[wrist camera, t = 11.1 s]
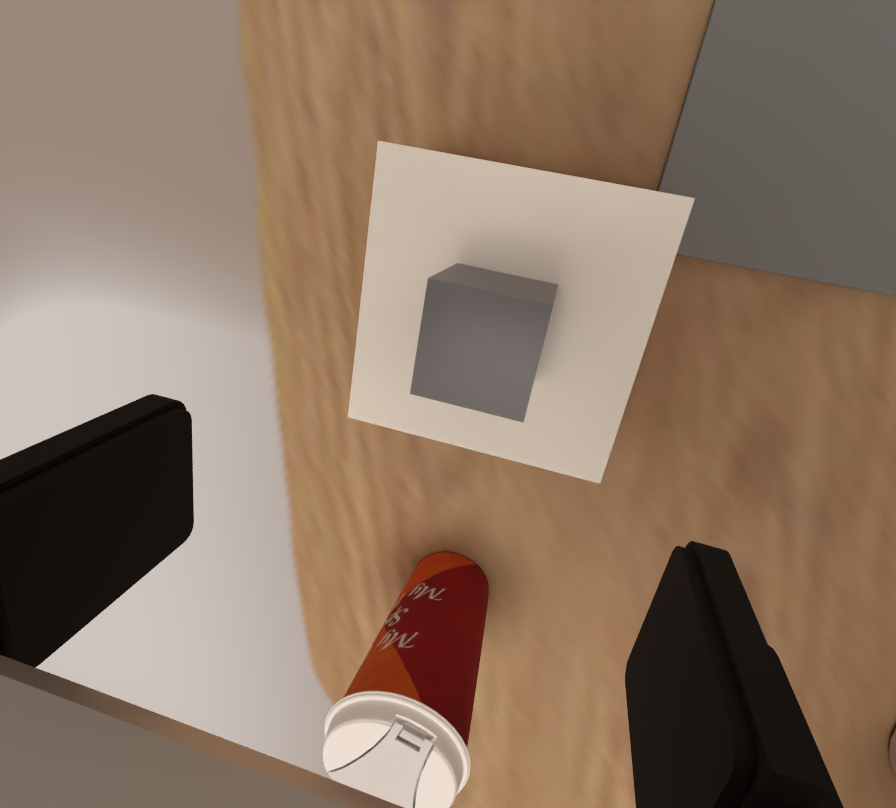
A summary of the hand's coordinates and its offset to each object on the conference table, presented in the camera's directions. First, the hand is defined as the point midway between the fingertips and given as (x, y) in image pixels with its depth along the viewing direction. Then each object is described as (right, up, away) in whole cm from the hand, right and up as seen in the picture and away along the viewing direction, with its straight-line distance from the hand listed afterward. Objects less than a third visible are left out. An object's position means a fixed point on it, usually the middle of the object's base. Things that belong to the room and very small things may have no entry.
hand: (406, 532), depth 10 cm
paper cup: (+1, -11, +29) cm, 30 cm away
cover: (+3, +6, +15) cm, 16 cm away
